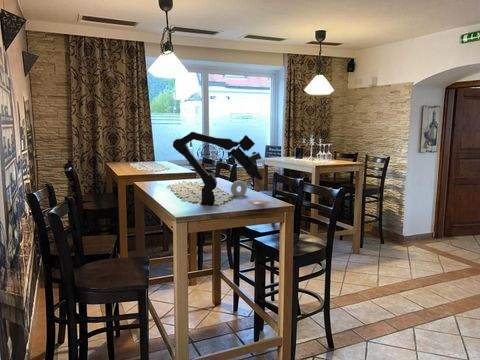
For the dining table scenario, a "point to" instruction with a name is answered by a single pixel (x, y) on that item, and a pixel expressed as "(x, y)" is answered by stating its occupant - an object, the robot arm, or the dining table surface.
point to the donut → (234, 188)
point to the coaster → (258, 202)
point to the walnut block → (259, 183)
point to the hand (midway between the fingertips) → (261, 179)
